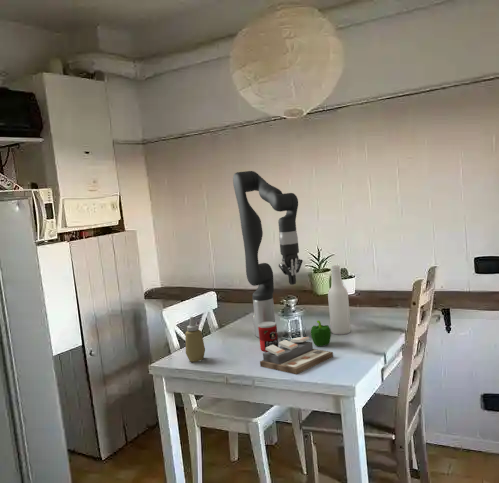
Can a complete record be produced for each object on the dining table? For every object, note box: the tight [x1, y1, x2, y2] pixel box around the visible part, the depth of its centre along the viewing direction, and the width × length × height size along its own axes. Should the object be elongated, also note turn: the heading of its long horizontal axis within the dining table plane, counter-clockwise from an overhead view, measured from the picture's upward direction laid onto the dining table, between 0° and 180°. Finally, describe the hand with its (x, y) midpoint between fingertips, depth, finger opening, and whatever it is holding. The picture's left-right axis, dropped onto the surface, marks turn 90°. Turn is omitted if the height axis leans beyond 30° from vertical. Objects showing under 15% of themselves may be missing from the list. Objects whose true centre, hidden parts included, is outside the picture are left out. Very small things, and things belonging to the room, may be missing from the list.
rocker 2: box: [278, 339, 298, 350], centre depth 221 cm, size 6×4×2 cm, turn 45°
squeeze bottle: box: [184, 316, 206, 363], centre depth 233 cm, size 8×8×18 cm
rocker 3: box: [289, 336, 310, 343], centre depth 226 cm, size 6×4×2 cm, turn 45°
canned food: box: [258, 321, 279, 353], centre depth 238 cm, size 8×8×11 cm
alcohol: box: [327, 264, 352, 336], centre depth 252 cm, size 9×9×30 cm
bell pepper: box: [310, 320, 332, 347], centre depth 237 cm, size 8×8×10 cm
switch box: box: [259, 340, 334, 375], centre depth 218 cm, size 18×22×5 cm
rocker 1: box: [265, 345, 285, 356], centre depth 215 cm, size 6×4×2 cm, turn 45°
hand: (292, 284), depth 233 cm, fingers closed
